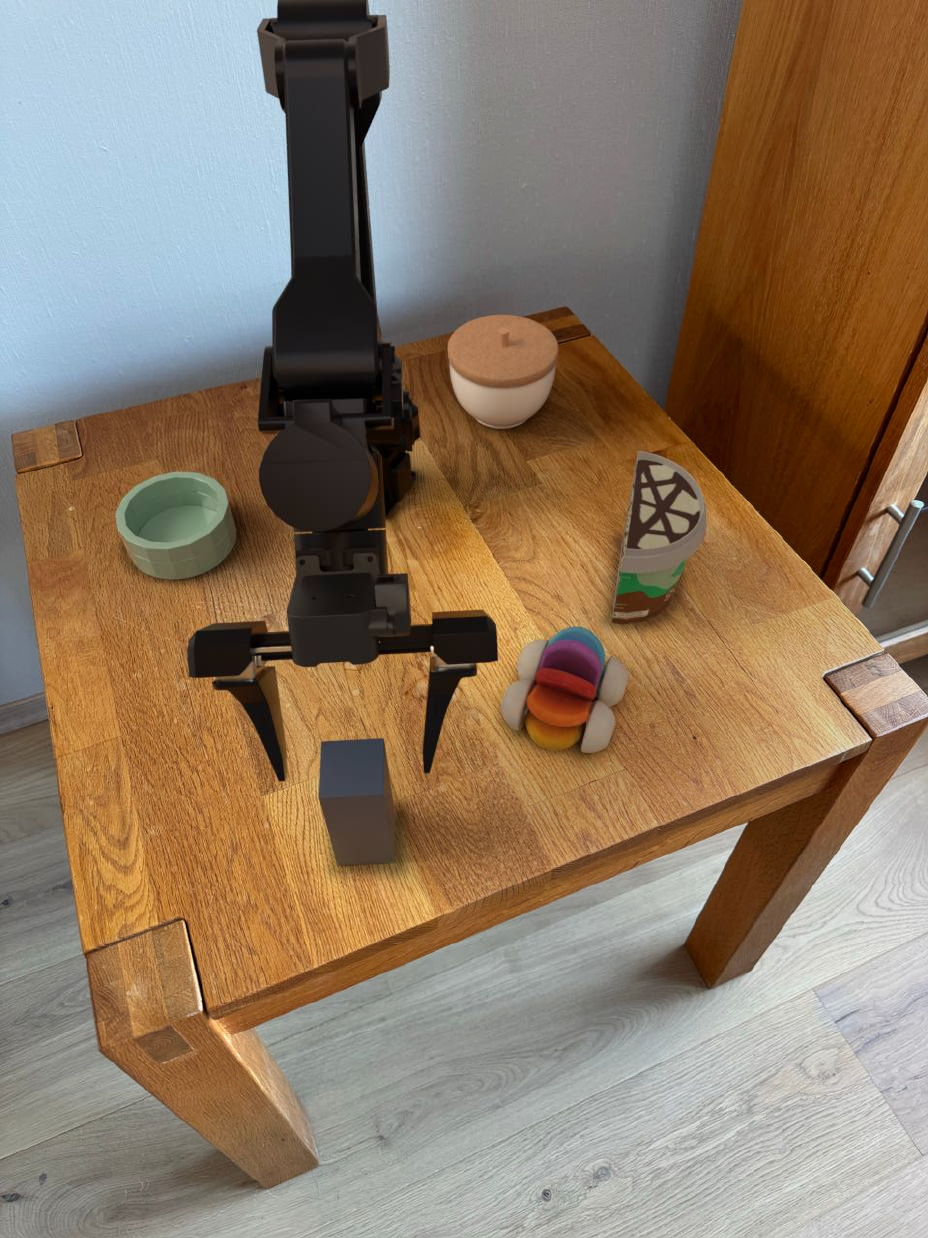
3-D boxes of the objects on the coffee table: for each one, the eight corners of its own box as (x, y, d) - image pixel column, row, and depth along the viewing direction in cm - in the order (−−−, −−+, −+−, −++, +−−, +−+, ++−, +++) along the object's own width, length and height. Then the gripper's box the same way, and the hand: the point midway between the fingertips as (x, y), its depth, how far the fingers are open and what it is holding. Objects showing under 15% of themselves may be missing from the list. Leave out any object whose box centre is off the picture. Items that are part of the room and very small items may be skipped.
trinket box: (427, 408, 95) (423, 329, 87) (502, 365, 99) (504, 286, 92) (500, 458, 90) (502, 379, 82) (574, 411, 94) (583, 331, 87)
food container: (684, 647, 75) (708, 565, 67) (609, 636, 76) (624, 554, 68) (691, 540, 82) (714, 455, 75) (623, 531, 83) (638, 446, 75)
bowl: (107, 557, 82) (92, 526, 79) (174, 491, 87) (163, 459, 84) (193, 594, 79) (182, 562, 76) (257, 523, 84) (249, 491, 81)
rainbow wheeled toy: (491, 743, 69) (492, 688, 64) (530, 647, 75) (534, 589, 69) (600, 776, 67) (611, 723, 62) (631, 675, 73) (644, 618, 67)
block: (339, 813, 66) (321, 741, 58) (394, 810, 66) (384, 737, 58) (337, 866, 63) (318, 797, 56) (395, 863, 63) (384, 794, 56)
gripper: (149, 541, 49) (172, 825, 50) (498, 524, 49) (511, 806, 51) (201, 538, 60) (219, 771, 61) (486, 524, 60) (497, 756, 62)
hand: (355, 776), depth 59 cm, fingers open, 9 cm apart
